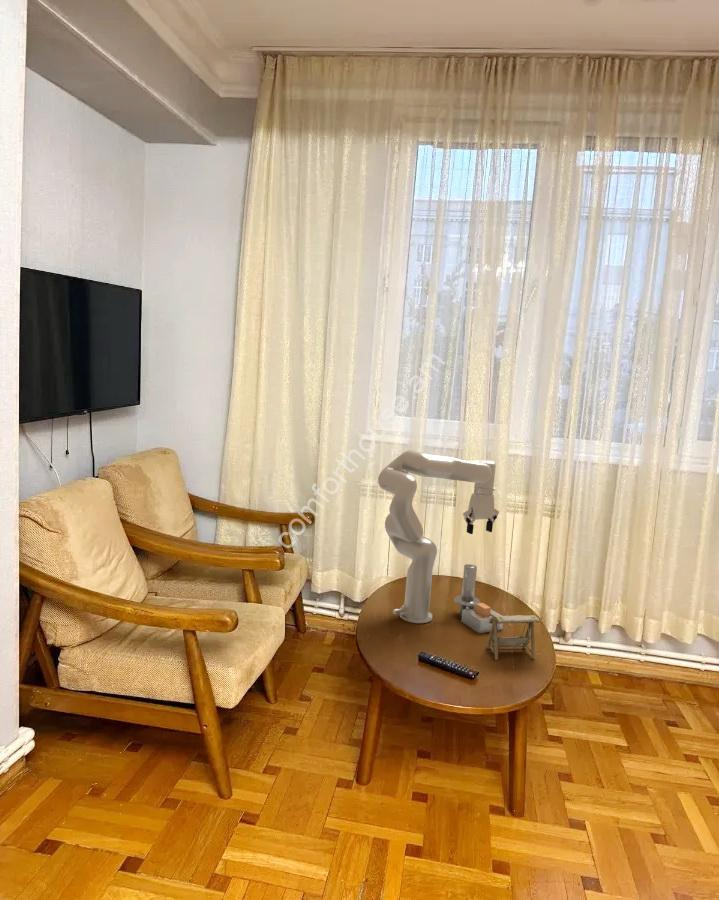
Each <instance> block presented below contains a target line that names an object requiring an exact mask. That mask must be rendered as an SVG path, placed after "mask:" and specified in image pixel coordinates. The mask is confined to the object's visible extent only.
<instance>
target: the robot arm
mask: <svg viewBox="0 0 719 900" xmlns="http://www.w3.org/2000/svg"><path fill="white" fill-rule="evenodd" d="M496 465H497V464H496V462H495V461H493V460H490V459H478V460H477V459H476V460H475V459H474V460H473V459H464V460H463V459H459V458H456V457H452V456H447V455H438V454H431V453H424V452H420V451H416V450H411V449H410V450H406V451H404V452H402V453H401V454H400V455H398V456H397V457H396V458H395V459H393V460H392V461H391V462H390V463H389V464H388V465H386V466H385V467H384V468H383V469H382V470H381V471H380V473H379V475H378V476H377V477H378V478H377V483H378V486H379V487H380V488H381V489H382V490H384V491H385V492H388V493H391V494H394V495H393V498H392V500H391V502H390V504H389V509H388V510H389V511H388V512H389V514H387V516H386V518H385V521H384V528H385V532H386V533H387V536H388V537H389V539H390V541H391V543H392V544H393V546H394V548H395V550H396V551H397V552H398V553H399V554H401V555H402V556H404V557H406V558H409V559H411V563H410V565H409V566H408V568H407V571H406V583H405V594H404V603H403V604H402V605H401V607H399V608H393V610H392V613H393V615H399V617H400V618H401V619H402V620H404V621H406V622H408V623H413V624H427V623H430V622H431V621H432V620H433V614H432V612H430V604H431V594H432V593H431V591H432V579H433V569H434V567H435V566H434V565H435V561H436V558H437V555H438V548H437V545H436V544H435V542H434V541H433V540H431V539H430V538H428V537H425V536H423V535H424V528H423V525H422V523H421V521H420V519H419V517H418V515H417V513H416V512H415V511H416V510H415V509H414V507H413V500H414V497H415V495H416V492H417V488H418V482H417V480H416V478H415V477H414V476H413V475H415V476H416V475H417V476H420V477H425V478H436V479H446V480H451V481H460V482H461V481H462V482H466V483H474V486H473V493H471V496H470V499H469V503H468V508H467V510H465V511H464V512H463V513H462V515H463V517H464V518H463V519H464V521H465V523H467V524H466V533H468V534H470V535H473V534H474V526H475V525H474V522H475V521H476V520H477V521H478V520H486V524H485V531H487V532H488V533H493V526H494V524H495V522H496V520H497V519H498V515H499V514H500V511H499V510H498V509H497V508H495V494H494V491H495V490H496V488H495V475H496V468H497V467H496ZM409 473H410V474H409ZM411 474H413V475H411Z"/></svg>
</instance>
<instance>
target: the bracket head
mask: <svg viewBox="0 0 719 900" xmlns="http://www.w3.org/2000/svg"><path fill="white" fill-rule="evenodd" d="M477 570H478V567H477V566H476V565H474V564H472V563H471V564H470V563H469V564H468V563H467V564H464V567H463V576H462V577H463V578H462V584H461V585H462V587H461V594H459V595H455V597H454V599H453V600H454V603H456V604H457V605H459V606H460V607H459V616H460V617H461V616H462V617H461V623H462V622H463V624H464V625H465V624H466V625H465V626H467V627H469V628H470V629H471V630H473V631H474V632H476V633H478V634H483V633H490V631H491V627H492V623H489V620H490V618H491V617H492V616H503V615H502V614H500V613H498V612H497V611H495V610H493V609H492V608H491V611H490V616H489V617H482V616H480V615H479V614H477V613H476V612H475V610H476V604H478V603H481V600H480V598H478V597H475V592H476V591H475V589H476V580H477ZM503 629H504V623H502V624H499V627H498V623H497V631H499V630H503Z"/></svg>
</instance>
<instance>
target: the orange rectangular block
mask: <svg viewBox="0 0 719 900" xmlns="http://www.w3.org/2000/svg"><path fill="white" fill-rule="evenodd" d="M491 609H492V607H491V606H489V605H488V604H485V603H484V602H480V603H478V604H476V610H475V612H476V613H477V614H479V615H480V616H482V617H489V616H490V611H491Z"/></svg>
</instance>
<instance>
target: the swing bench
mask: <svg viewBox="0 0 719 900" xmlns="http://www.w3.org/2000/svg"><path fill="white" fill-rule="evenodd" d="M540 622H541V621H540V619H539V618H538V616H536V615H534V614H530V615H522V614H519V615H518V614H517V615H516V614H515V615H502V616H492V617H491V618H490V620H489V623H492V627H491V631H490V632H489V636H488V639H487V643H486V647H485V648H486V649H487V650H489V649H490V650H491V652H492V653H493V654H494V660H495V661H498V660H499V648H522V649H526V648H527V650H528V651H529V652H530V655H531V656H530V657H531V659H532V660H534V659H535V657H536V656H535V655H536V651H535V650H536V649H535V646H536V645H535V623H537V624H538V623H540ZM497 623H498V627H499V624H502V623H503V624H525V625H524V627H523V631H522V634H519V636H511V637H509V636H506V637H503V636H500V635H501V633H500V630H497ZM526 626H527V628H526ZM525 629H526V632H525ZM524 632H525V636H524ZM491 643H492V644H491ZM530 643H531V647H530V645H529V644H530Z"/></svg>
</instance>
